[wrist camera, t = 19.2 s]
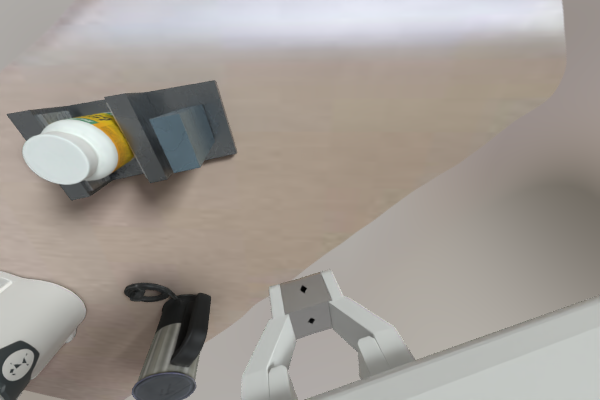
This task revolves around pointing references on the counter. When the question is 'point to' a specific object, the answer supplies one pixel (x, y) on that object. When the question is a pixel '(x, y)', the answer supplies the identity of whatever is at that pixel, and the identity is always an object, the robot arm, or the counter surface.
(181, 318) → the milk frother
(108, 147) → the supplement bottle
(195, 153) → the sliding jaw
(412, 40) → the counter surface
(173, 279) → the counter surface
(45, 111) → the vise base
